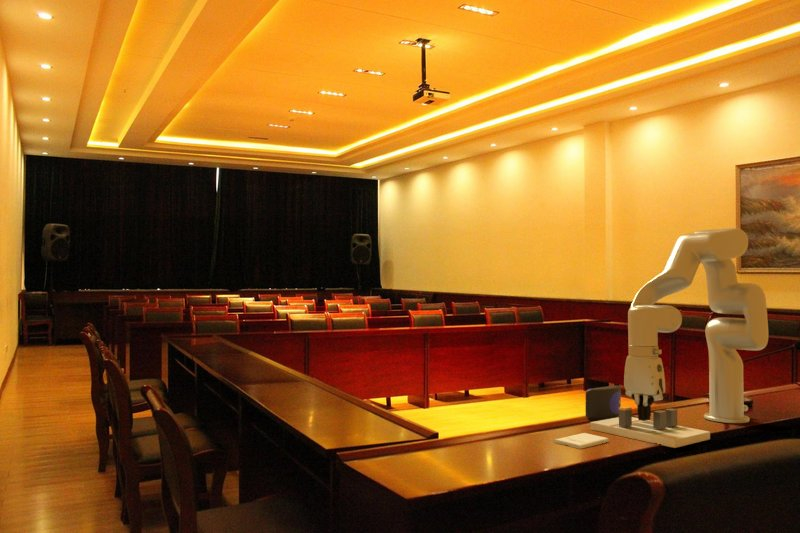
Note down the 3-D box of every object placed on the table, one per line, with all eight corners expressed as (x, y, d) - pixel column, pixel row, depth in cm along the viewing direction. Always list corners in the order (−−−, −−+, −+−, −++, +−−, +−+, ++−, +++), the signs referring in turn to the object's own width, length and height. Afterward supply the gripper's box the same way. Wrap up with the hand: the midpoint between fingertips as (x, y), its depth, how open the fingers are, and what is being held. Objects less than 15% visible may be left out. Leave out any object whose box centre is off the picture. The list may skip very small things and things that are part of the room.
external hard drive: (608, 444, 170) (579, 451, 163) (582, 438, 177) (553, 444, 169) (608, 438, 170) (579, 444, 163) (582, 432, 177) (553, 438, 169)
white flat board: (626, 422, 196) (626, 415, 196) (710, 439, 175) (710, 431, 175) (590, 429, 186) (590, 422, 186) (674, 447, 165) (674, 439, 165)
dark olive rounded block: (596, 422, 196) (596, 390, 197) (584, 419, 200) (584, 388, 200) (628, 416, 206) (628, 386, 206) (616, 413, 210) (616, 384, 210)
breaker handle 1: (659, 426, 179) (659, 410, 179) (666, 428, 177) (666, 411, 178) (653, 428, 177) (653, 411, 177) (660, 429, 176) (659, 412, 176)
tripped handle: (625, 424, 181) (625, 406, 182) (631, 425, 180) (631, 407, 180) (618, 425, 180) (618, 407, 180) (625, 427, 178) (625, 408, 178)
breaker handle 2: (670, 424, 182) (670, 408, 182) (677, 425, 181) (677, 409, 181) (664, 425, 180) (664, 409, 181) (671, 426, 179) (671, 410, 179)
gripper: (676, 353, 172) (677, 422, 172) (627, 348, 184) (628, 413, 184) (660, 355, 168) (661, 426, 167) (611, 350, 180) (612, 417, 180)
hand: (644, 419), depth 176 cm, fingers closed
